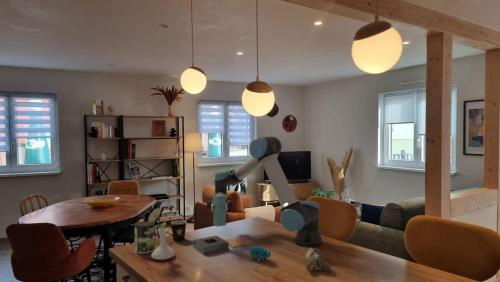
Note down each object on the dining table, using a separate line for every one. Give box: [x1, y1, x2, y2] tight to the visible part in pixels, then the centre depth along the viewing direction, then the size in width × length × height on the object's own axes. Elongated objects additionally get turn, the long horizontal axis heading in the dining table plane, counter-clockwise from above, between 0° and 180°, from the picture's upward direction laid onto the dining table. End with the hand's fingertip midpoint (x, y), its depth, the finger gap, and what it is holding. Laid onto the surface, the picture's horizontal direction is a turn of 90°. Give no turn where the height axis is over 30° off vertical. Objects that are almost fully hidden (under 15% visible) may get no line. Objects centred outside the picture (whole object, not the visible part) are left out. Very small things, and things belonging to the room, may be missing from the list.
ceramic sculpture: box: [304, 247, 332, 273], centre depth 148 cm, size 11×9×15 cm
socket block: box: [192, 235, 230, 256], centre depth 175 cm, size 14×14×4 cm
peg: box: [212, 194, 227, 228], centre depth 178 cm, size 5×5×16 cm
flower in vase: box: [147, 207, 176, 261], centre depth 162 cm, size 13×11×25 cm
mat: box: [224, 235, 254, 249], centre depth 185 cm, size 13×13×1 cm
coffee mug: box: [164, 219, 187, 242], centre depth 191 cm, size 12×9×10 cm
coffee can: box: [133, 220, 156, 254], centre depth 173 cm, size 10×10×14 cm
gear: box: [248, 246, 272, 264], centre depth 157 cm, size 11×6×10 cm
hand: (219, 208), depth 173 cm, fingers closed on peg, 7 cm apart
